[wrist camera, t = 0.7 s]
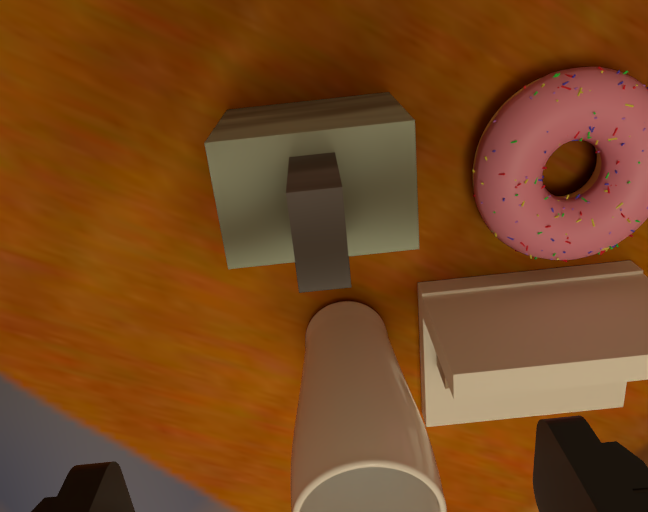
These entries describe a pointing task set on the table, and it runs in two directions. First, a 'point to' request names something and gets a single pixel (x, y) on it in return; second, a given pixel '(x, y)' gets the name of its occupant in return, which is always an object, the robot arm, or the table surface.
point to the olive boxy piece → (315, 184)
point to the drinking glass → (358, 423)
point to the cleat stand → (531, 342)
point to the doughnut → (538, 145)
